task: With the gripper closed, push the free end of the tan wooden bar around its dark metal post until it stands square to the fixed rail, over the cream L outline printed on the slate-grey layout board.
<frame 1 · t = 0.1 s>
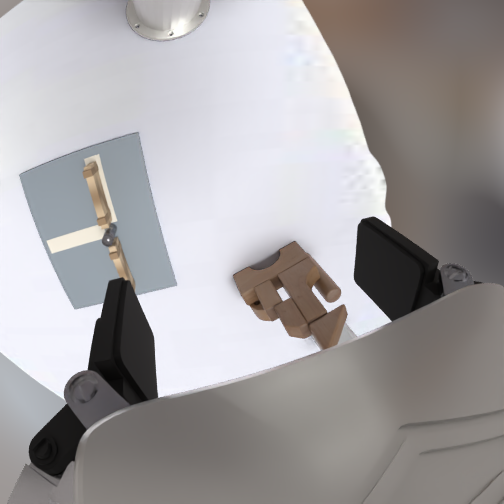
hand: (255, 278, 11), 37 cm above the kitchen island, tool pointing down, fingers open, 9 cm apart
wooden toy: (273, 267, 58), on the kitchen island
fixed fence rail: (97, 195, 38), on the layout board, point 3 cm above the kitchen island
tan wooden bar: (122, 268, 45), point 3 cm above the kitchen island, hinge at 0.0°
layout board: (96, 231, 44), on the kitchen island
skincare box: (326, 325, 71), on the kitchen island
fence post: (112, 226, 44), resting on layout board
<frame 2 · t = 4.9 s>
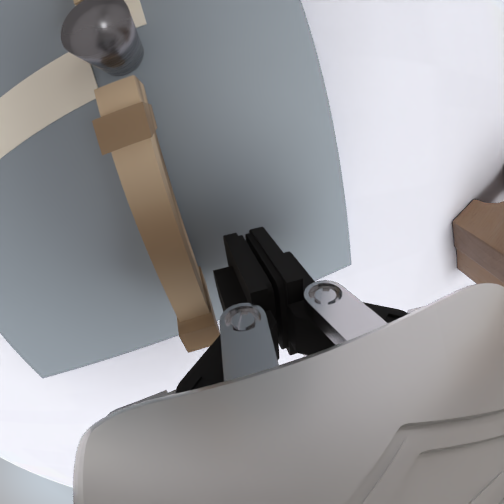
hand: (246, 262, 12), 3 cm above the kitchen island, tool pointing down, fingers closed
wooden toy: (493, 202, 20), on the kitchen island
tan wooden bar: (161, 221, 10), point 3 cm above the kitchen island, hinge at -4.2°, touching gripper
layout board: (61, 89, 9), on the kitchen island
fence post: (124, 58, 9), resting on layout board
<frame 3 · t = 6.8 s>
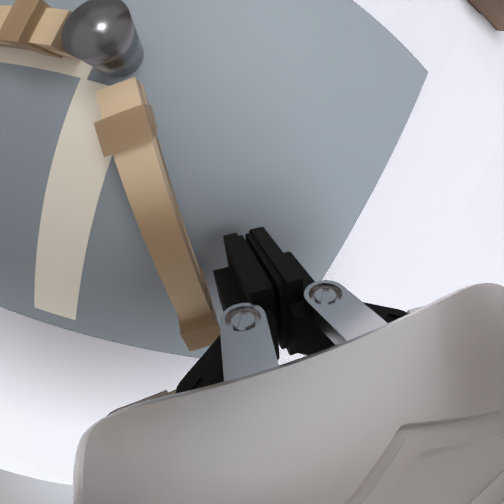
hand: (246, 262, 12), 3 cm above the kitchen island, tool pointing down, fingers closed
tan wooden bar: (162, 221, 10), point 3 cm above the kitchen island, hinge at -51.9°, touching gripper
layout board: (96, 123, 10), on the kitchen island
fence post: (123, 59, 9), resting on layout board
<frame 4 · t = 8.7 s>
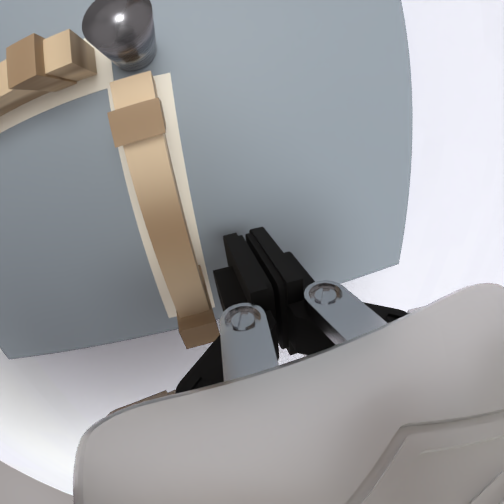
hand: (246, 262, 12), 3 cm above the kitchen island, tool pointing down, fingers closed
tan wooden bar: (166, 217, 10), point 3 cm above the kitchen island, hinge at -88.0°, touching gripper
layout board: (145, 118, 11), on the kitchen island
fence post: (136, 54, 9), resting on layout board
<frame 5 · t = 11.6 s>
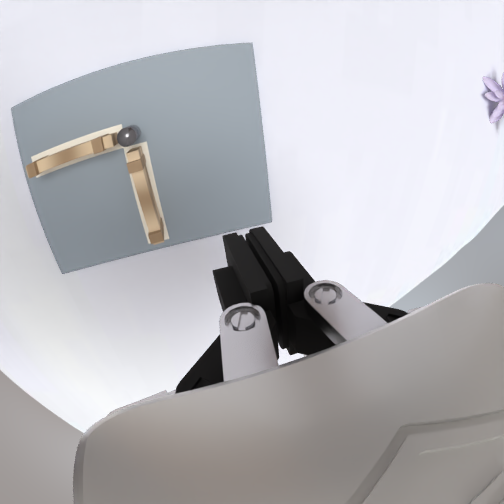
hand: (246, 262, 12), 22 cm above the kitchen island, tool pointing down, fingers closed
fixed fence rail: (70, 153, 23), on the layout board, point 3 cm above the kitchen island
tan wooden bar: (146, 195, 28), point 3 cm above the kitchen island, hinge at -88.1°
water lily: (490, 94, 37), on the kitchen island
layout board: (138, 158, 29), on the kitchen island
fence post: (133, 132, 27), resting on layout board
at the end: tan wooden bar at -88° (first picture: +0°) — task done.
